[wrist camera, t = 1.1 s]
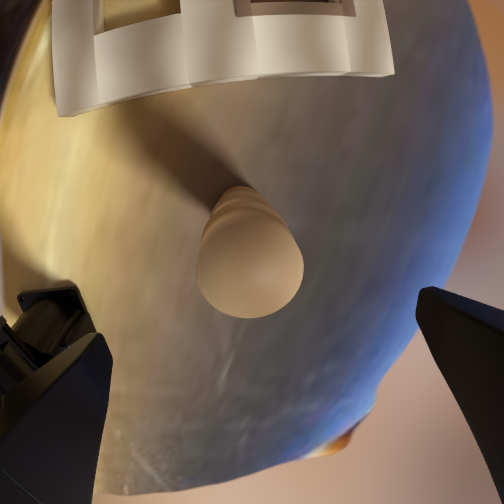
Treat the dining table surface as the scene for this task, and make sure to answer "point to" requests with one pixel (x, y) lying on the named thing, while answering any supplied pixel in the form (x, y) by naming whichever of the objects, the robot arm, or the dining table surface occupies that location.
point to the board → (211, 47)
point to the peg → (247, 256)
